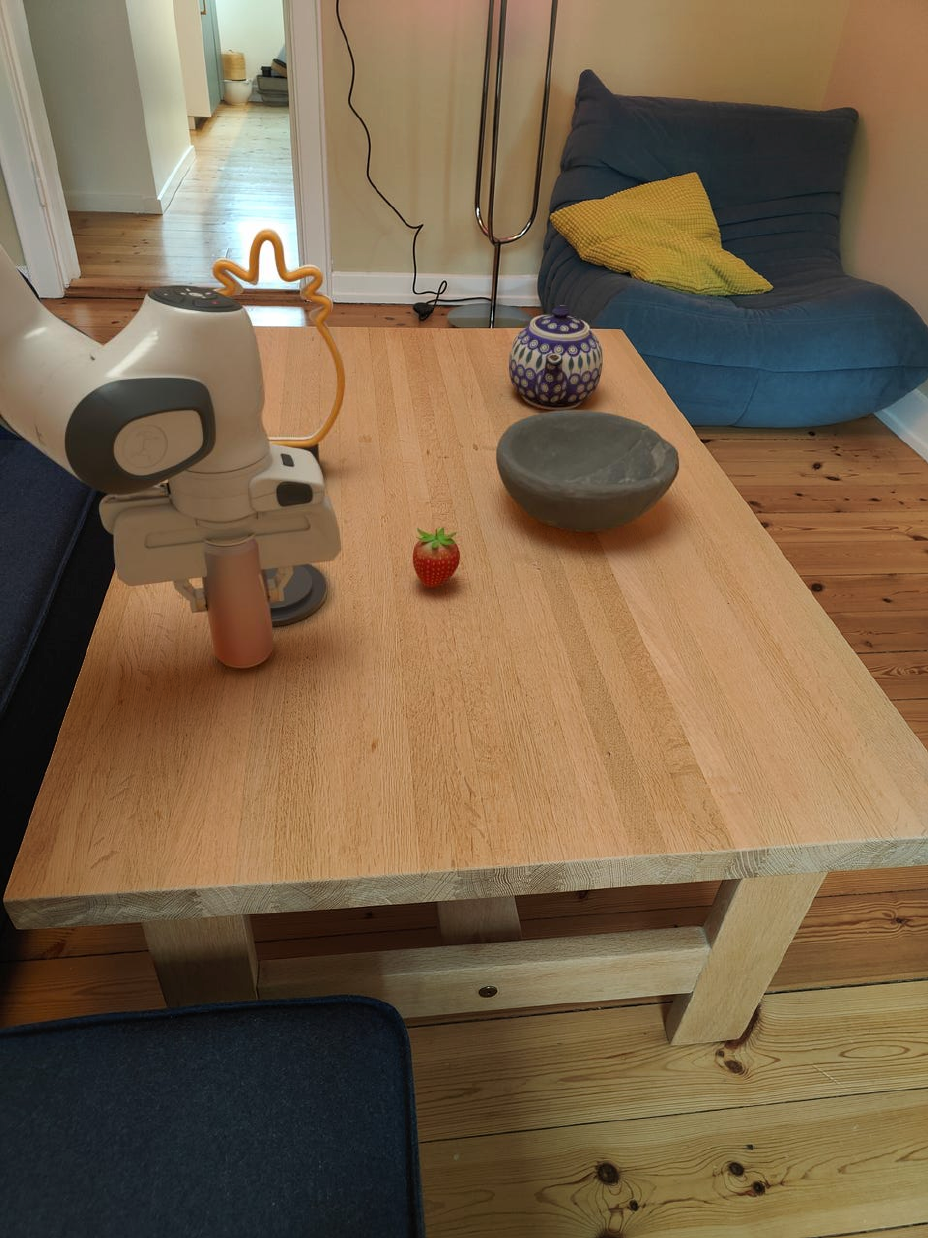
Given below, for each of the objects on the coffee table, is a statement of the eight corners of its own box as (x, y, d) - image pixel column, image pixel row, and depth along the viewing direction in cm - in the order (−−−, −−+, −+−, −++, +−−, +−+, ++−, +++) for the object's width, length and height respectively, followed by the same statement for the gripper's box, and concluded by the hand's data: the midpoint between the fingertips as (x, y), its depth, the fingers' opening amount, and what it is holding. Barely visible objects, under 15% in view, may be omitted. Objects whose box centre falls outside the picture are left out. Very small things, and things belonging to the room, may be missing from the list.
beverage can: (219, 632, 89) (200, 508, 80) (277, 632, 90) (264, 509, 80) (209, 671, 85) (187, 544, 75) (271, 671, 85) (256, 545, 76)
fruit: (432, 568, 102) (434, 510, 97) (466, 586, 99) (470, 527, 94) (401, 587, 98) (402, 528, 93) (436, 606, 96) (438, 547, 91)
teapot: (517, 363, 152) (526, 277, 143) (602, 374, 150) (615, 288, 141) (493, 423, 132) (501, 328, 123) (590, 437, 131) (605, 341, 121)
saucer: (222, 634, 90) (221, 624, 89) (213, 569, 99) (211, 560, 98) (335, 617, 93) (335, 607, 92) (317, 556, 102) (316, 547, 101)
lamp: (218, 496, 111) (181, 239, 92) (226, 463, 118) (193, 218, 99) (348, 496, 113) (339, 244, 94) (348, 463, 120) (340, 222, 100)
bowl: (567, 453, 126) (577, 389, 120) (696, 516, 114) (714, 448, 108) (455, 505, 113) (459, 435, 107) (587, 582, 101) (600, 509, 95)
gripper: (93, 509, 70) (125, 639, 78) (342, 484, 75) (346, 608, 84) (94, 472, 74) (125, 599, 83) (329, 450, 80) (334, 571, 88)
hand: (238, 603), depth 83 cm, fingers closed on beverage can, 6 cm apart
